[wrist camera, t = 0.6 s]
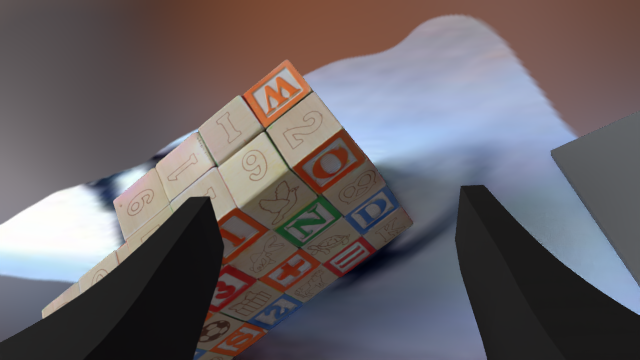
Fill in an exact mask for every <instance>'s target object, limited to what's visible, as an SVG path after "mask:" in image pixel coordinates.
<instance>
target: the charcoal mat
mask: <svg viewBox="0 0 640 360" xmlns="http://www.w3.org/2000/svg"><path fill="white" fill-rule="evenodd" d="M551 156H552V158H553V159H554V161H555V162H556V164H557V165H558V167H559V168H560V170H561V171H562V173H563V174H564V176H565V177H566V178H567V180H568V181H569V183H570V184H571V186H572V187H573V189H574V190H575V192H576V193H577V195H578V196H579V198H580V199H581V201H582V202H583V204H584V205H585V207H586V208H587V210H588V211H589V212H590V214H591V215H592V217H593V218H594V220H595V221H596V223H597V224H598V226H599V227H600V229H601V230H602V232H603V233H604V235H605V236H606V238H607V239H608V241H609V242H610V244H611V245H612V246H613V248H614V249H615V251H616V252H617V254H618V255H619V257H620V258H621V260H622V261H623V263H624V264H625V266H626V267H627V269H628V270H629V272H630V273H631V275H632V276H633V278H634V279H635V280H636V282H637V283H638V285H639V286H640V111H638V112H636V113H633V114H631V115H629V116H627V117H624V118H622V119H620V120H618V121H616V122H613V123H611V124H609V125H607V126H604V127H602V128H600V129H598V130H596V131H593V132H591V133H589V134H587V135H584V136H582V137H580V138H578V139H576V140H573V141H571V142H569V143H567V144H565V145H562V146H560V147H558V148H556V149H553V150H551Z"/></svg>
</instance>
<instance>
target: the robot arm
mask: <svg viewBox="0 0 640 360" xmlns="http://www.w3.org/2000/svg"><path fill="white" fill-rule="evenodd" d="M455 242H456V248H457V254H458V260H459V265H460V270H461V274H462V277H463V281H464V284H465V287H466V290H467V294H468V297H469V300H470V303H471V306H472V309H473V313H474V316H475V319H476V322H477V325H478V328H479V332H480V335H481V338H482V341H483V345H484V349H485V352H486V356H487V360H640V315H638V314H636V313H635V312H633V311H631V310H630V309H628V308H626V307H625V306H623V305H621V304H620V303H618V302H617V301H615V300H614V299H612V298H611V297H609V296H607V295H606V294H604V293H603V292H601V291H600V290H598V289H597V288H595V287H594V286H593V285H591V284H590V283H588V282H587V281H585V280H584V279H583V278H581V277H580V276H579V275H577V274H576V273H575V272H573V271H572V270H571V269H569V268H568V267H567V266H566V265H564V264H563V263H562V262H561V261H559V260H558V259H557V258H556V257H555V256H553V255H552V254H551V253H550V252H549V251H548V250H547V249H546V248H544V247H543V246H542V245H541V244H540V243H539V242H538V241H537V240H536V239H535V238H534V237H533V236H532V235H531V234H530V233H529V232H528V231H527V230H525V229H524V228H523V227H522V226H521V225H520V224H519V223H518V222H517V221H516V219H515V218H514V217H513V216H512V215H511V214H510V213H509V212H508V211H507V210H506V209H505V208H504V207H503V206H502V205H501V203H500V202H499V201H498V200H497V199H496V198H495V197H494V196H493V195H492V193H491V192H490V191H489V190H488V189H487V188H486V187H485V186H484V185H471V186H461V189H460V198H459V208H458V217H457V226H456V236H455ZM224 247H225V246H224V243H223V240H222V236H221V233H220V229H219V226H218V223H217V219H216V216H215V212H214V209H213V205H212V202H211V199H210V196H199V197H189V198H188V199H187V200H186V201H185V202H184V203H183V204H182V205H181V206H180V207H179V208H178V209H177V210H176V211H175V212H174V213H173V214H172V215H171V216H170V217H169V218H168V219H167V220H166V221H165V222H164V223H163V224H162V225H161V226H160V227H159V228H158V229H157V230H156V231H155V232H154V233H153V234H152V235H151V236H150V237H149V238H148V239H147V240H146V241H145V242H144V243H143V244H141V245H140V246H139V247H138V248H137V249H136V250H135V251H134V252H133V253H131V254H130V255H129V256H128V257H127V258H126V259H125V260H124V261H122V262H121V263H120V264H119V265H118V266H117V267H116V268H114V269H113V270H112V271H111V272H110V273H108V274H107V275H106V276H105V277H103V278H102V279H101V280H99V281H98V282H97V283H95V284H94V285H93V286H91V287H90V288H89V289H87V290H86V291H85V292H83V293H82V294H80V295H79V296H77V297H76V298H74V299H73V300H71V301H70V302H68V303H67V304H65V305H64V306H62V307H61V308H59V309H58V310H56V311H55V312H53V313H52V314H50V315H48V316H47V317H45V318H43V319H42V320H40V321H38V322H37V323H35V324H33V325H32V326H30V327H28V328H26V329H24V330H23V331H21V332H19V333H17V334H15V335H14V336H12V337H10V338H8V339H6V340H4V341H2V342H0V360H193V359H194V355H195V351H196V348H197V344H198V341H199V338H200V335H201V332H202V329H203V326H204V323H205V320H206V317H207V314H208V310H209V307H210V304H211V301H212V298H213V295H214V292H215V289H216V286H217V282H218V279H219V275H220V270H221V265H222V259H223V253H224Z"/></svg>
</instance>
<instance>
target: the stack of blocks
mask: <svg viewBox="0 0 640 360" xmlns="http://www.w3.org/2000/svg"><path fill="white" fill-rule="evenodd" d="M199 196H210V199H211V202H212V205H213V209H214V212H215V216H216V219H217V223H218V226H219V229H220V233H221V236H222V240H223V243H224V246H225V247H224V253H223V259H222V265H221V270H220V275H219V279H218V282H217V286H216V289H215V292H214V295H213V298H212V301H211V304H210V307H209V310H208V314H207V317H206V320H205V323H204V326H203V329H202V332H201V335H200V338H199V341H198V344H197V348H196V351H195V355H194V359H193V360H231V359H232V358H233V357H234V356H236V355H238V354H240V353H241V352H242V351H244V350H245V349H246V348H248V347H249V346H251V345H252V344H253V343H255V342H256V341H257V340H259V339H260V338H261V337H263V336H264V335H265V334H267V333H268V331H269V330H270V329H272V328H273V327H274V326H276V325H277V324H278V323H280V322H281V321H282V320H284V319H285V318H286V317H288V316H289V315H290V314H292V313H293V312H294V311H296V310H297V309H298V308H300V307H301V306H302V305H303V304H304V303H305V302H307V301H309V300H310V299H311V298H313V297H314V296H315V295H317V294H318V293H319V292H321V291H322V290H323V289H325V288H326V287H327V286H329V285H330V284H331V283H333V282H334V281H335V280H336V279H338V278H339V277H342V276H343V275H345V274H346V273H348V272H349V271H350V270H352V269H353V268H354V267H356V266H357V265H358V264H360V263H361V262H362V261H364V260H365V259H366V258H368V257H369V256H370V255H372V254H373V253H374V252H376V251H377V250H379V249H380V248H382V247H383V246H384V245H386V244H387V243H389V242H390V241H391V240H393V239H394V238H395V237H397V236H398V235H399V234H401V233H402V232H403V231H405V230H406V229H407V228H409V227H410V226H411V225H412V224H413V222H412V220H411V219H410V218H409V216H408V215H407V213H406V212H405V211H404V209H403V208H402V207H401V205H400V204H399V203H398V201H397V200H396V198H395V197H394V195H393V194H392V192H391V191H390V189H389V188H388V186H387V185H386V184H385V181H384V179H383V178H382V176H381V175H380V173H379V172H378V170H377V169H376V168H375V166H374V165H373V163H372V162H371V161H370V159H369V158H368V157H367V155H366V154H365V153H364V152H363V151H362V150H361V149H360V147H359V146H358V145H357V144H356V143H355V141H354V140H353V139H352V138H351V136H350V135H349V134H348V133H347V131H346V130H345V129H344V128H343V126H342V125H341V124H340V123H339V122H338V120H337V119H336V118H335V117H334V115H333V114H332V113H331V112H330V110H329V109H328V108H327V107H326V105H325V104H324V103H323V101H322V100H321V99H320V98H319V96H318V95H317V94H316V93H315V92H314V91H313V90H312V88H311V87H310V86H309V84H308V83H307V82H306V81H305V79H304V78H303V77H302V76H301V74H300V73H299V72H298V71H297V70H296V68H295V67H294V66H293V65H292V64H291V62H290V61H289V60H285V61H284V62H283V63H281V64H280V65H279V66H278V67H276V68H275V69H274V70H273V71H272V72H270V73H269V74H268V75H267V76H266V77H264V78H263V79H262V80H260V81H259V82H258V83H257V84H255V85H254V86H253V87H252V88H251V89H250V90H248V91H247V92H246V93H245V94H244V95H243V96H240V95H239V96H236V97H235V98H234V99H233V100H232V101H231V102H229V103H228V104H227V105H225V106H224V107H223V108H222V109H221V110H220V111H218V112H217V113H216V114H215V115H214V116H212V117H211V118H210V119H209V120H207V121H206V122H205V123H204V124H203V125H202V126H201V127H200V128H199V129H198V132H196V133H193V134H192V135H190V136H189V137H188V138H187V139H185V140H184V141H183V142H182V143H181V144H180V145H179V146H177V147H176V148H175V149H174V150H173V151H171V152H170V153H169V154H168V155H167V156H166V157H164V158H163V159H162V160H161V161H159V162H158V164H157V165H156V167H155V168H153V169H151V170H150V171H148V172H147V173H146V174H145V175H144V176H142V177H141V178H140V179H139V180H138V181H136V182H135V183H134V184H133V185H132V186H131V187H129V188H128V189H127V190H126V191H125V192H123V193H122V194H121V195H120V196H119V197H117V198H116V199H115V200H114V201H113V203H114V206H115V209H116V213H117V216H118V219H119V223H120V226H121V229H122V233H123V236H124V239H125V241H126V243H125V244H123V245H122V246H121V247H120V248H118V249H117V250H115V251H113V252H112V253H111V254H109V255H108V256H107V257H106V258H104V259H103V260H102V261H101V262H100V263H98V264H97V265H96V266H95V267H93V268H92V269H91V270H90V271H88V272H87V273H86V274H85V275H83V276H82V277H81V278H80V279H79V281H78V282H77V283H75V284H74V285H72V286H71V287H70V288H69V289H67V290H66V291H65V292H64V293H63V294H61V295H60V296H58V297H57V298H56V299H55V300H54V301H53V302H51V303H50V304H49V305H48V306H46V307H45V308H44V309H43V310H42V316H43V318H45V317H47V316H48V315H50V314H52V313H53V312H55V311H56V310H58V309H59V308H61V307H62V306H64V305H65V304H67V303H68V302H70V301H71V300H73V299H74V298H76V297H77V296H79V295H80V294H82V293H83V292H85V291H86V290H87V289H89V288H90V287H91V286H93V285H94V284H95V283H97V282H98V281H99V280H101V279H102V278H103V277H105V276H106V275H107V274H108V273H110V272H111V271H112V270H113V269H114V268H116V267H117V266H118V265H119V264H120V263H121V262H122V261H124V260H125V259H126V258H127V257H128V256H129V255H130V254H131V253H133V252H134V251H135V250H136V249H137V248H138V247H139V246H140V245H141V244H143V243H144V242H145V241H146V240H147V239H148V238H149V237H150V236H151V235H152V234H153V233H154V232H155V231H156V230H157V229H158V228H159V227H160V226H161V225H162V224H163V223H164V222H165V221H166V220H167V219H168V218H169V217H170V216H171V215H172V214H173V213H174V212H175V211H176V210H177V209H178V208H179V207H180V206H181V205H182V204H183V203H184V202H185V201H186V200H187V199H188V198H189V197H199Z"/></svg>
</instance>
